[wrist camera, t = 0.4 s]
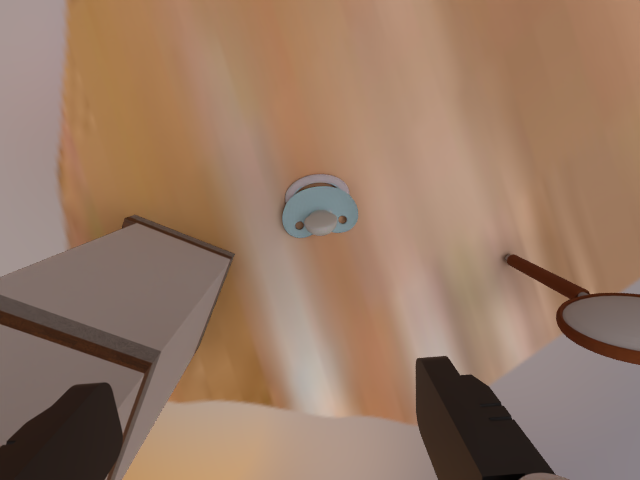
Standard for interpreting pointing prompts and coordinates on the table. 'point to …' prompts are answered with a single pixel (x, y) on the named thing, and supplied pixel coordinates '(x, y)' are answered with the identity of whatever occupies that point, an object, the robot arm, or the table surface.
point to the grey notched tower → (107, 325)
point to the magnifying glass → (592, 315)
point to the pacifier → (318, 207)
